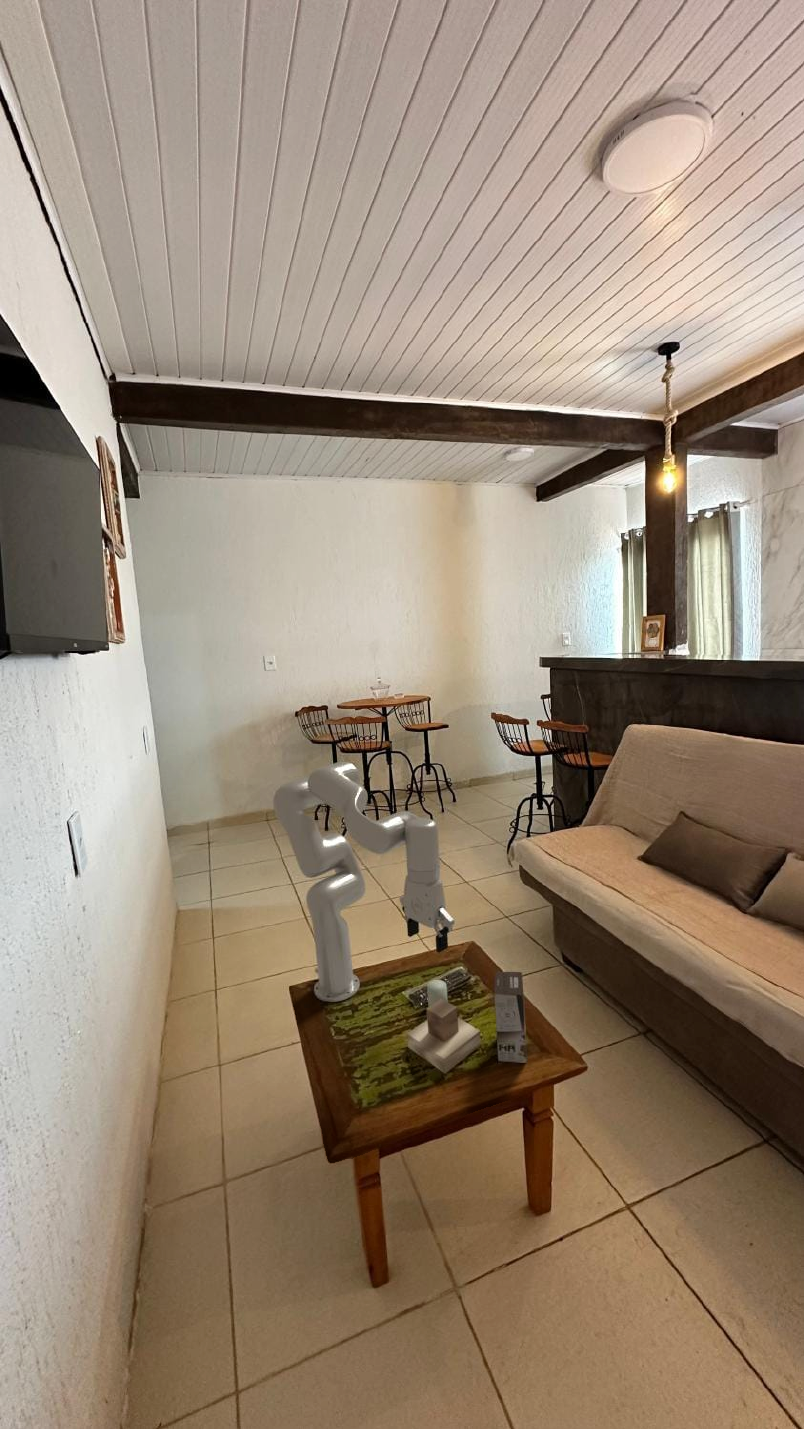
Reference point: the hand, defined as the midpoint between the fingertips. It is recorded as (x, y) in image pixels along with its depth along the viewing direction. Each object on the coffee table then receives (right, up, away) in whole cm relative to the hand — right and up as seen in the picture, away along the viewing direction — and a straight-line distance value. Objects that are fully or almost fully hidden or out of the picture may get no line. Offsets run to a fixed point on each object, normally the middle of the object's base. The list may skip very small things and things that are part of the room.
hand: (427, 942), depth 130 cm
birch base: (+4, -25, 0) cm, 25 cm away
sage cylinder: (+3, -23, +14) cm, 27 cm away
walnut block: (+4, -21, -1) cm, 21 cm away
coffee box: (+19, -23, -3) cm, 30 cm away
